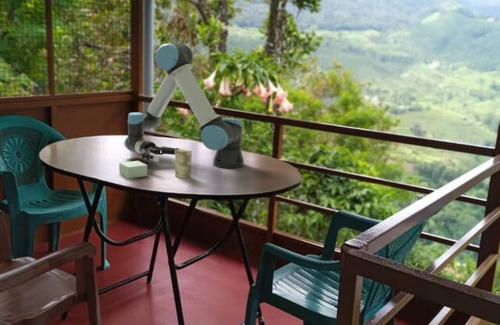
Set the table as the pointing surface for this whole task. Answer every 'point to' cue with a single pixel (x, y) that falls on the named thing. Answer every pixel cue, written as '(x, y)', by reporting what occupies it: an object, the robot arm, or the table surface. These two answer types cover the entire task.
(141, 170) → the sage block
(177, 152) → the birch block
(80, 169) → the table surface
